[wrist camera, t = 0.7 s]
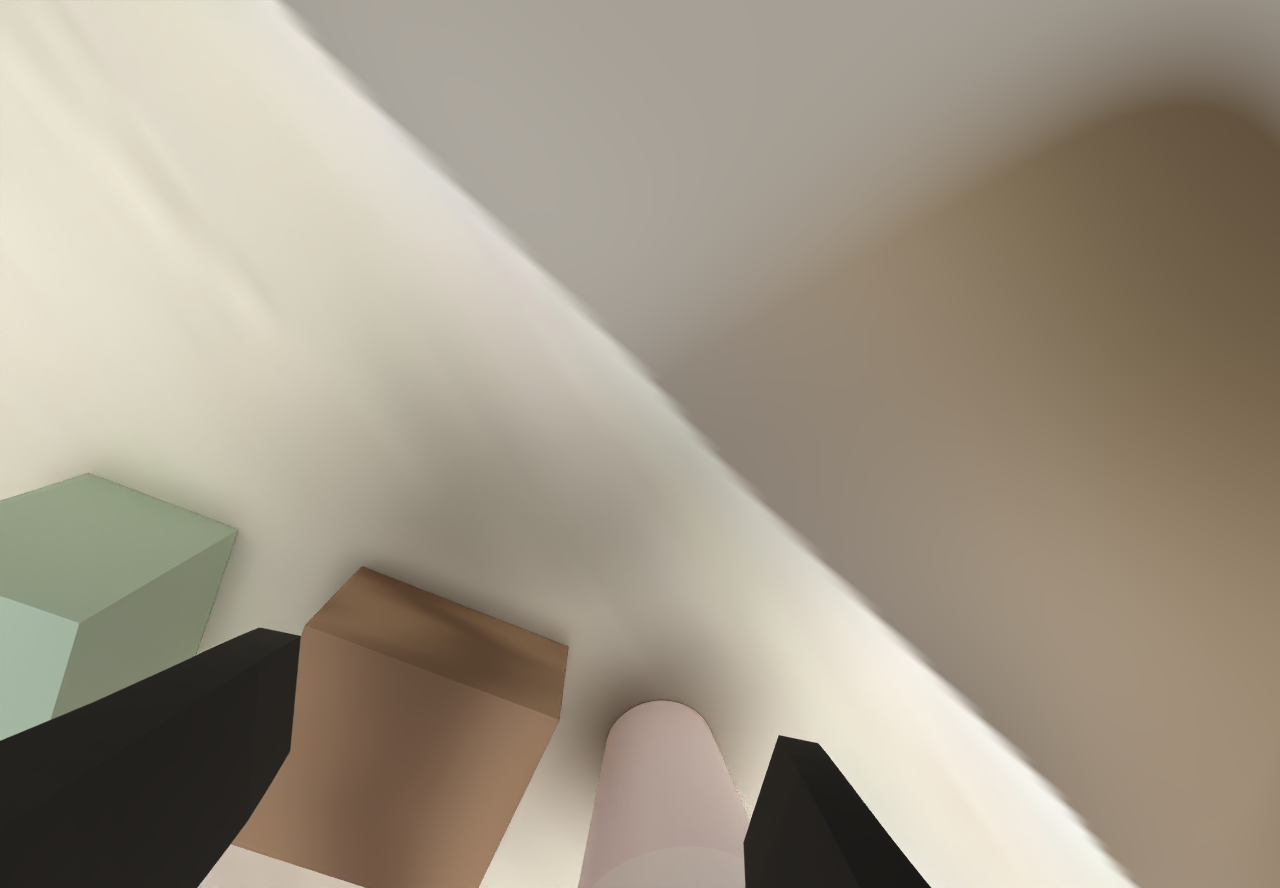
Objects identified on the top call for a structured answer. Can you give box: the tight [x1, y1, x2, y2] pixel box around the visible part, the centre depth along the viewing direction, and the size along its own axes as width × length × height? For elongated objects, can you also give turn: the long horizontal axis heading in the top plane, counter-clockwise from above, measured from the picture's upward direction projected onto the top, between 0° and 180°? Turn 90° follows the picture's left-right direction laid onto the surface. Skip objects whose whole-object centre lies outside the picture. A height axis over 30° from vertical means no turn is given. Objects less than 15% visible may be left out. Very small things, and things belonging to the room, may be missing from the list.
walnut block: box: [231, 567, 568, 888], centre depth 19 cm, size 7×7×4 cm
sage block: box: [0, 473, 238, 741], centre depth 17 cm, size 4×4×6 cm
